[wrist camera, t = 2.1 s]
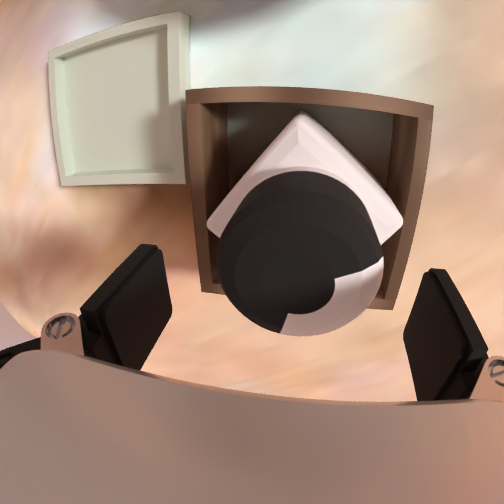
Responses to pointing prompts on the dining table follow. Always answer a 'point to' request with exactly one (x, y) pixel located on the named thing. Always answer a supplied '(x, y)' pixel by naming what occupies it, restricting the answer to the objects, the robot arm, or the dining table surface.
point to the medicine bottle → (303, 234)
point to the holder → (215, 114)
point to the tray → (123, 103)
